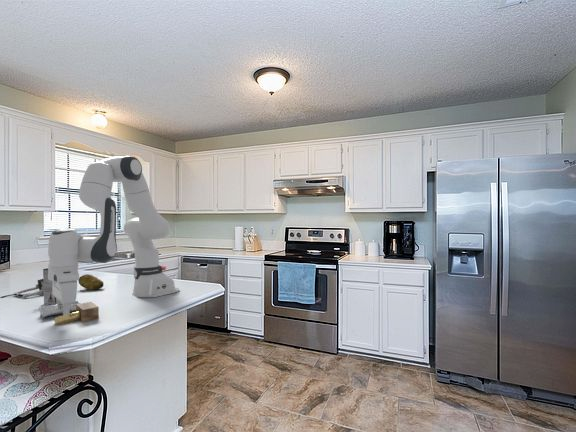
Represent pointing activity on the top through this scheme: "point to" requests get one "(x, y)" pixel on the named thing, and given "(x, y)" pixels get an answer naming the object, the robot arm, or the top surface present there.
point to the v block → (55, 311)
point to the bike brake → (38, 286)
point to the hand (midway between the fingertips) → (63, 311)
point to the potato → (90, 282)
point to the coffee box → (48, 289)
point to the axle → (68, 318)
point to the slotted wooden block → (88, 311)
